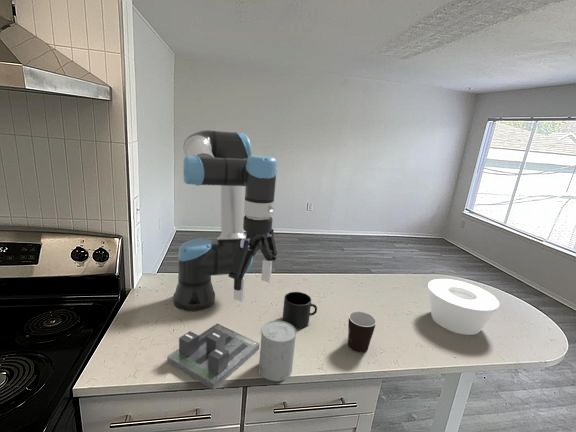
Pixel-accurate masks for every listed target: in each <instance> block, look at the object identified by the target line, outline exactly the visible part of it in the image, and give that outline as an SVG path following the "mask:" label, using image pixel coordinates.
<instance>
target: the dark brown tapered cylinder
mask: <svg viewBox="0 0 576 432" xmlns="http://www.w3.org/2000/svg"><path fill="white" fill-rule="evenodd" d="M376 325H377V319H376V318H375V317H374V316H373V315H372V314H370V313H368V312H365V311H360V310H358V311H357V310H356V311H351V312H350V313H349V314H348V327H347V329H348V331H347V345H348V346H347V347H348V349H350V350H352V351H353V352H355V353H359V354H361V353H366V352H367V351H368V350H369V346H370V344H371V341H372V338H373V335H374V331H375V328H376Z"/></svg>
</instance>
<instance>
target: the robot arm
mask: <svg viewBox="0 0 576 432" xmlns="http://www.w3.org/2000/svg"><path fill="white" fill-rule="evenodd" d="M183 153H184V155H185V157H184V158H183V164H182V165H183V166H182V167H183V170H182V171H183V174H182V175H183V176H182V177H183V182H184V183H185V184H186V185H195V186H197V187H198V186H220V221H221V222H220V224H221V225H220V227H221V229H220V231H221V233H220V235H219V236H218V237H217V238H216V240H217V241H216V242H217V243H213V242H212V240H211V239H209V238H192V239H190V240H186V241H184V242H183V243H182V244H180V246H179V248H178V256H177V260H178V268H177V269H178V274H177V275H178V280H177V281H178V282H177V285H176V288H175V291H174V293H173V295H172V296H173V297H172V298H173V299H172V301H173V303H172V304H173V305H174V307H175V308H177V309H179V310H181V311H184V312H185V311H186V312H198V311H202V310H203V311H204V310H206V309H208V308H210V307H212V306H213V305H214V304H215V302H216V293H215V290H214V286H213V283H212V276H226V275H228V278H231V279H233V300H235V301H238V302H241V303H243V302H245V292H246V291H245V290H246V289H245V287H246V277H245V274H246V273H248V272H249V271H250V269H251V268H252V264H253V259H254V256H255V255H257V254H256V253H257V252H258V251H259V250H260V252H261V254H262V255H263V257H264V258H263V259H262V266H261V267H262V268H261V278H260V279H261V281H263V282H267V283H270V282H271V279H272V270H273V269H272V268H273V262H276V260H277V255H278V252H277V247H276V246H277V245H276V241H275V236H274V234H275V233H274V229H273V218H272V217H273V214H274V209H275V206H274V203H275V192H276V183H277V182H276V181H277V173H278V170H277V169H278V168H277V167H278V164H277V159H276V158H275V157H273V156H269V155H268V156H267V155H259V154H256V155H255V154H252V145H251V141H250V138H249V137H248V135H247V134H245V133H241V132H236V131H235V132H234V131H233V132H232V131H231V132H230V131H221V130H220V131H218V130H211V129H210V130H208V129H207V130H199V131H196V132H194V133H192V134H190V135H189V136H188V137H187V138H186V139H185V140H184V142H183ZM244 187H245V188H244ZM244 190H245V191H244ZM245 233H246V234H245Z"/></svg>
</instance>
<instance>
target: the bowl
mask: <svg viewBox="0 0 576 432" xmlns="http://www.w3.org/2000/svg"><path fill="white" fill-rule="evenodd" d="M427 286H428V296H429V305H430V307H429V308H430V315H431V318H432V320H433V322H435V323H436V324H438V325H439V326H440V327H441V328H444V329H445V330H448V331H450V332H452V333H455V334H460V335H466V336H471V335H474V336H475V335H478V334H479V333H480V332H481V330H482V329H483V328H484V327H485V325H486V324H487V323H488V322H489V320H490V319H491V317H492V316H493V315H494V314H495V312H496V311H497V309H498V308H499V307H500V301H499V300H498V299H497V298H496V296H495V295H494V294H492V293H490V292H489V291H487V290H485V289H484V288H481V287H480V286H477V285H475V284H471V283H468V282H466V281H462V280H457V279H451V278H436V279H432V280H430V281H428V284H427Z"/></svg>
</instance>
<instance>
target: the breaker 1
mask: <svg viewBox="0 0 576 432" xmlns="http://www.w3.org/2000/svg"><path fill="white" fill-rule="evenodd" d="M199 335H200V334H199ZM199 335H198V334H196V333H194V332H192V331H188V332H186V333H185V334H183V335H182V336H180V337H179V338H178V349H179V352H180V353H182V354H184V355H186V356H187V357H188V356H190V355H191V354H193V353H194V352H195V351H197V350H198V349H199Z"/></svg>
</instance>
